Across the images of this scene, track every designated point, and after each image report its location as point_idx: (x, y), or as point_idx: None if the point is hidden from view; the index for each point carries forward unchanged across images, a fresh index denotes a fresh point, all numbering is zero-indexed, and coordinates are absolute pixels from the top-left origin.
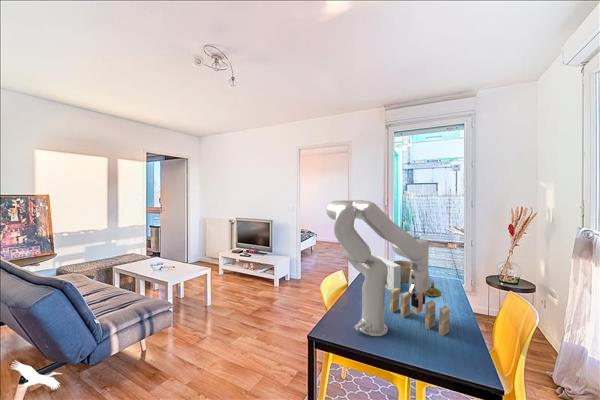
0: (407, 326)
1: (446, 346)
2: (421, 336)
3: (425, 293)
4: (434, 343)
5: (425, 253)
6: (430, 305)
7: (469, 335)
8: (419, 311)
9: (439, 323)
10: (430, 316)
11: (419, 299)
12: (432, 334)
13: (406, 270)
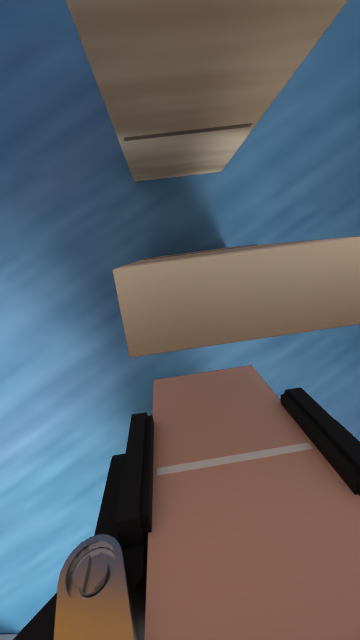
0: (309, 339)
1: (324, 32)
2: (345, 218)
3: (67, 591)
4: (356, 112)
5: None
6: (331, 240)
7: (6, 7)
8: (212, 377)
9: (247, 131)
10: (240, 247)
11: (269, 480)
12: (262, 194)
13: None
